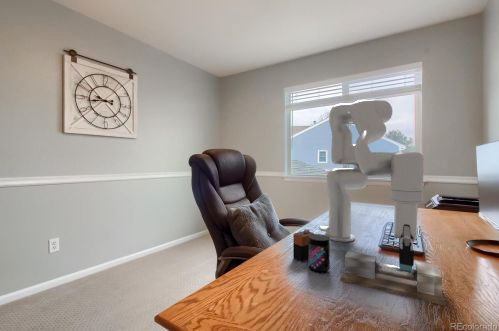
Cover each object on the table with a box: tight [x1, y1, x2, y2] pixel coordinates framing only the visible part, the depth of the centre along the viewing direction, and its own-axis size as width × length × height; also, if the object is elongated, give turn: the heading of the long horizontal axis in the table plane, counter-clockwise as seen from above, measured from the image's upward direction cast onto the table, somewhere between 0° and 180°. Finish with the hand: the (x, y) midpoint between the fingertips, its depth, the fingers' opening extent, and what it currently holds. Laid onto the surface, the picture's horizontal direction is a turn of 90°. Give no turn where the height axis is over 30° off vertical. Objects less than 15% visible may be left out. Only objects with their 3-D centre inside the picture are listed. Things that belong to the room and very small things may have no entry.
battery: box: [292, 228, 315, 263], centre depth 87 cm, size 4×7×10 cm, turn 127°
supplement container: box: [307, 233, 331, 274], centre depth 78 cm, size 7×7×10 cm
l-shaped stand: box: [375, 241, 417, 282], centre depth 69 cm, size 16×3×10 cm, turn 59°
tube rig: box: [340, 250, 447, 306], centre depth 70 cm, size 24×12×6 cm, turn 59°
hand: (405, 258), depth 68 cm, fingers open, 9 cm apart
